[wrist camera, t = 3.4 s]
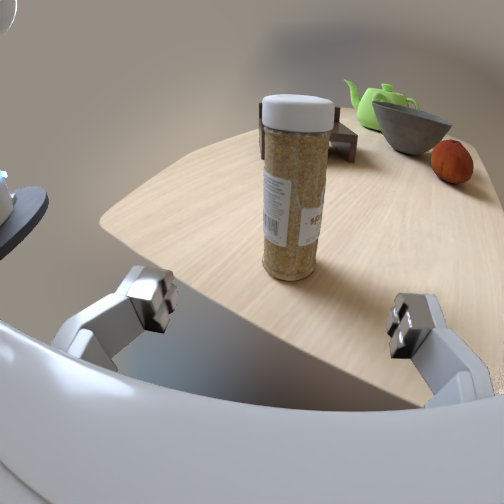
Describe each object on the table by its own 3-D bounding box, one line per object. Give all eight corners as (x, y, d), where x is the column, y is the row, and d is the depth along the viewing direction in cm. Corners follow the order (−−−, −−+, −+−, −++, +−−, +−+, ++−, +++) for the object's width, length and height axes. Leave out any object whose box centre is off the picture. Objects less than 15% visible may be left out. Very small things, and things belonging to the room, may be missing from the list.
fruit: (425, 178, 41) (434, 136, 36) (429, 167, 46) (436, 130, 42) (468, 197, 37) (480, 154, 32) (467, 182, 42) (476, 146, 37)
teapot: (423, 141, 65) (430, 95, 56) (364, 133, 64) (369, 81, 55) (392, 125, 80) (397, 86, 71) (340, 118, 79) (342, 76, 70)
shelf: (261, 159, 44) (261, 112, 40) (259, 140, 54) (259, 102, 49) (354, 162, 44) (359, 118, 40) (335, 143, 54) (339, 107, 49)
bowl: (442, 175, 43) (453, 127, 37) (357, 147, 52) (362, 101, 46) (444, 156, 55) (451, 120, 49) (377, 135, 64) (382, 99, 58)
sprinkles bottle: (321, 280, 22) (347, 104, 14) (264, 285, 22) (268, 100, 13) (307, 246, 26) (321, 94, 17) (258, 249, 25) (258, 92, 17)
